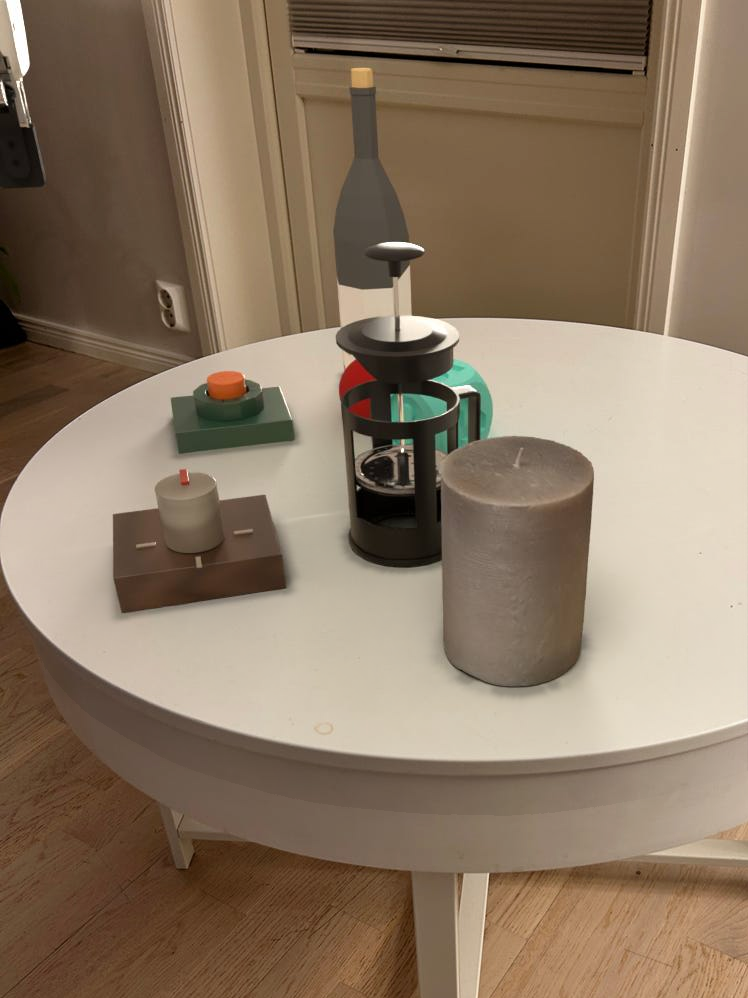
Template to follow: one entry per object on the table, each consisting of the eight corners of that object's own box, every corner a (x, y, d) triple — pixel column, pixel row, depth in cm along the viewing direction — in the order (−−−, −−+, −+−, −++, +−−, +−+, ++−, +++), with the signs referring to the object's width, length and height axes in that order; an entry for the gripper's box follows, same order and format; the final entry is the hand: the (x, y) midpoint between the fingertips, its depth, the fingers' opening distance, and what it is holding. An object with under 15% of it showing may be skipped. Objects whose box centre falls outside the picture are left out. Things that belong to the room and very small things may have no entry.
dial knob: (227, 548, 74) (218, 490, 71) (167, 557, 73) (154, 499, 70) (222, 521, 78) (212, 465, 75) (164, 529, 77) (152, 472, 74)
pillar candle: (566, 603, 74) (579, 413, 65) (594, 684, 66) (613, 479, 57) (436, 611, 73) (431, 419, 64) (448, 694, 65) (445, 487, 56)
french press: (365, 580, 76) (343, 272, 63) (325, 526, 83) (297, 238, 70) (501, 546, 81) (507, 252, 67) (452, 498, 88) (449, 221, 74)
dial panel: (121, 615, 72) (112, 578, 71) (120, 546, 80) (112, 511, 79) (287, 590, 75) (282, 554, 73) (269, 526, 83) (265, 492, 81)
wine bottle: (354, 361, 115) (334, 63, 98) (422, 366, 114) (413, 65, 96) (332, 386, 109) (306, 72, 91) (404, 392, 107) (391, 75, 90)
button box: (179, 454, 95) (171, 414, 92) (174, 417, 102) (167, 380, 99) (294, 440, 97) (290, 401, 95) (282, 406, 104) (278, 369, 102)
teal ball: (493, 449, 96) (494, 368, 91) (442, 479, 91) (441, 395, 86) (428, 428, 100) (426, 350, 95) (376, 456, 94) (371, 374, 90)
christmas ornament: (344, 411, 103) (336, 314, 97) (412, 410, 103) (409, 314, 98) (339, 440, 97) (330, 338, 92) (411, 439, 98) (407, 338, 92)
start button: (210, 403, 95) (207, 386, 94) (207, 390, 98) (205, 372, 97) (248, 399, 96) (246, 382, 95) (244, 386, 99) (242, 369, 98)
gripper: (-95, -119, 69) (-20, 169, 80) (-136, -128, 57) (-42, 210, 68) (20, -116, 71) (78, 165, 82) (4, -125, 59) (73, 204, 70)
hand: (23, 185), depth 75 cm, fingers closed
